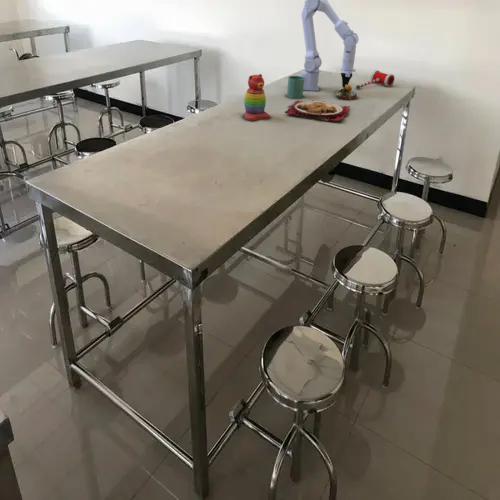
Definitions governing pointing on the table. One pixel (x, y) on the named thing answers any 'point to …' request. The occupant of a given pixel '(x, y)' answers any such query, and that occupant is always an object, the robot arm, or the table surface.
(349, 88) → the burger
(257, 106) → the stacking bear
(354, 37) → the robot arm
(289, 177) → the table surface
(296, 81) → the green cup
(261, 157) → the table surface
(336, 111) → the plate with food
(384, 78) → the toy hammer
